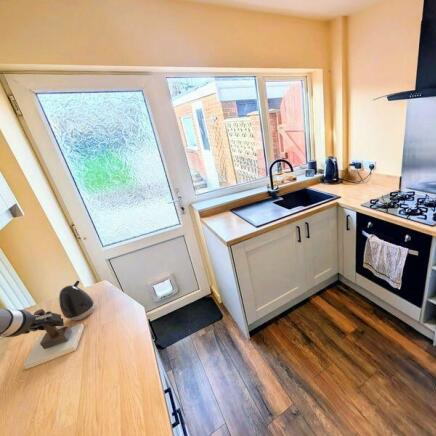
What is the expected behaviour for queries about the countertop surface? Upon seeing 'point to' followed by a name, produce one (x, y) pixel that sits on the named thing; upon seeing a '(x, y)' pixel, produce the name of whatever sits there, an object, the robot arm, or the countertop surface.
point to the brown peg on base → (53, 333)
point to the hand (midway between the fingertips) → (56, 324)
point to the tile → (53, 348)
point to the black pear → (75, 302)
